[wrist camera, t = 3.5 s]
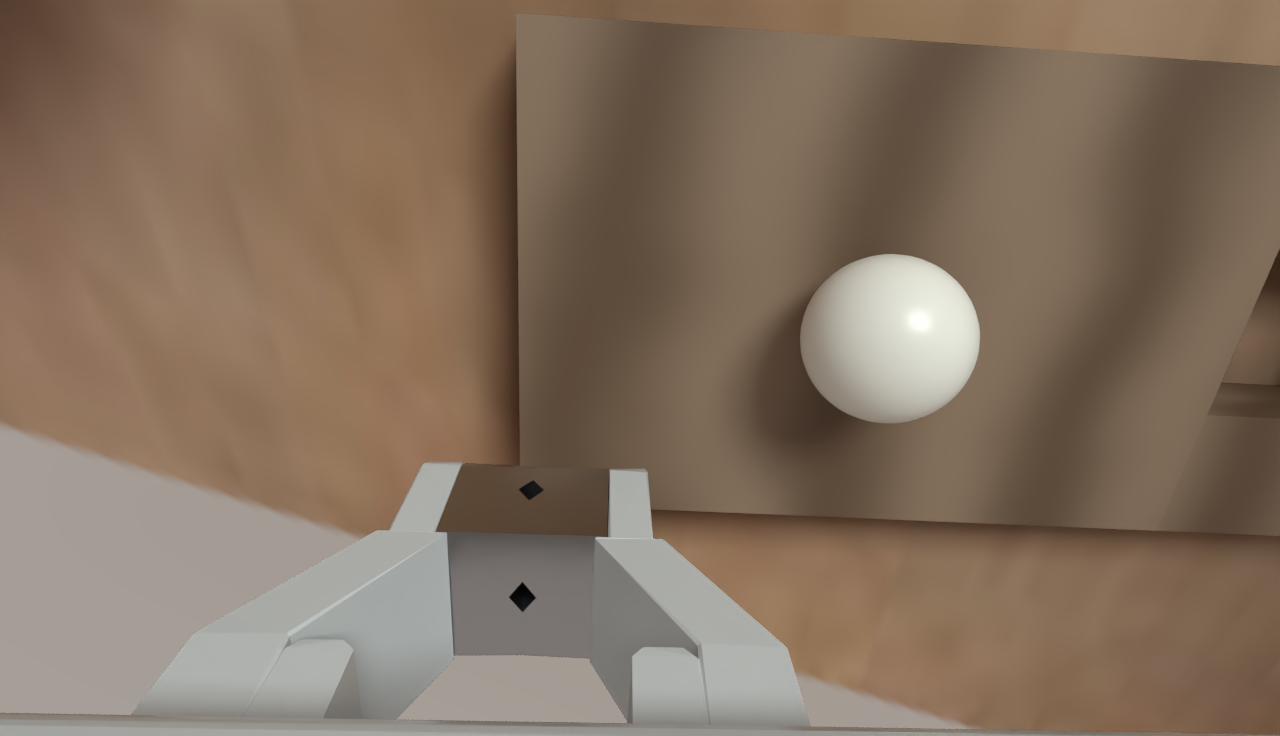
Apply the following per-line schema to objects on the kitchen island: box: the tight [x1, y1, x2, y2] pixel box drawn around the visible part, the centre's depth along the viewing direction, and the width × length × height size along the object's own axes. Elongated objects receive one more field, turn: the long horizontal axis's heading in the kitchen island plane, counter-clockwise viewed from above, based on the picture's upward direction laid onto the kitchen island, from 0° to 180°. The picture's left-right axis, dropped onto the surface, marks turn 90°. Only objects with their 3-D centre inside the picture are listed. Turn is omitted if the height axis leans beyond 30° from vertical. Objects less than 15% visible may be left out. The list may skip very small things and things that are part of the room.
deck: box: [516, 13, 1280, 536], centre depth 20 cm, size 30×13×2 cm, turn 86°
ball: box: [800, 254, 980, 423], centre depth 16 cm, size 4×4×4 cm
